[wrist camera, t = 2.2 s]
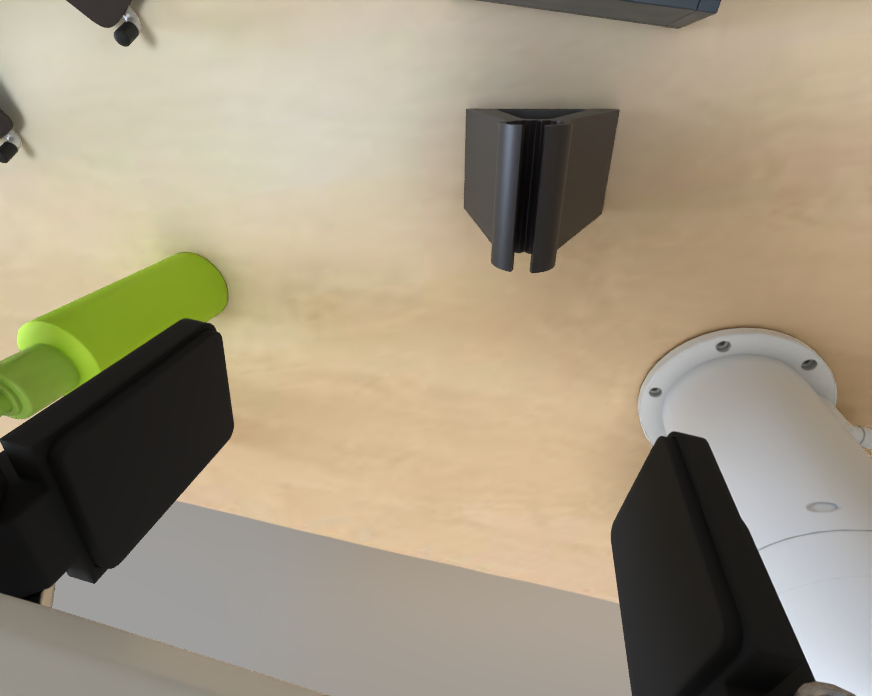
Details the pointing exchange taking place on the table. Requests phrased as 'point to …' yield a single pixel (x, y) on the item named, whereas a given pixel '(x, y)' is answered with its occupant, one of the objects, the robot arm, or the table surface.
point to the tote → (629, 9)
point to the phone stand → (536, 177)
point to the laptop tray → (105, 7)
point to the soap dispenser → (105, 330)
